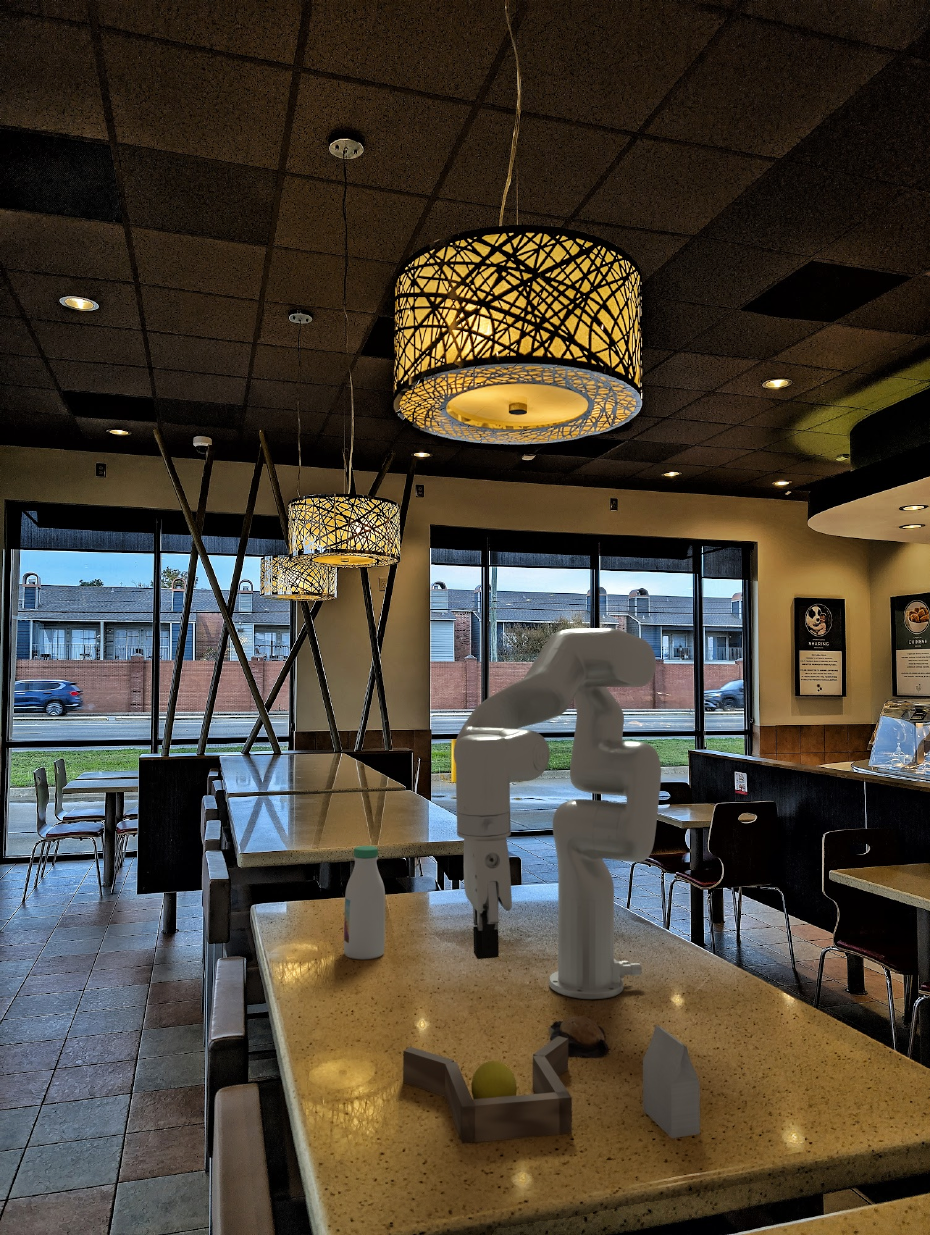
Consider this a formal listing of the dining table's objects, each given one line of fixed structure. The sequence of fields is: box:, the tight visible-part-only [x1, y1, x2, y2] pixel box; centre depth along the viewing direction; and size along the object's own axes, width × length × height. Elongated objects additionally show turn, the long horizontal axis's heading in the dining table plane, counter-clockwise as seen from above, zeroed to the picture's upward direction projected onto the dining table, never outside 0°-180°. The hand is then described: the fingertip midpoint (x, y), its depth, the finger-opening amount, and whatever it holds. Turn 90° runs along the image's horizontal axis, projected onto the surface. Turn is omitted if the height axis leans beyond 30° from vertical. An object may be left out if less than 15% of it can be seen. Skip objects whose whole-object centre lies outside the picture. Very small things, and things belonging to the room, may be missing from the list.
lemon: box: [470, 1060, 518, 1099], centre depth 106 cm, size 6×6×8 cm
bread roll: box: [548, 1016, 611, 1059], centre depth 126 cm, size 11×8×4 cm
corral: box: [402, 1036, 573, 1144], centre depth 108 cm, size 22×17×4 cm
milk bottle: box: [343, 845, 386, 960], centre depth 166 cm, size 8×8×20 cm
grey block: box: [642, 1024, 701, 1139], centre depth 104 cm, size 4×7×10 cm, turn 17°
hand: (486, 956), depth 121 cm, fingers closed
